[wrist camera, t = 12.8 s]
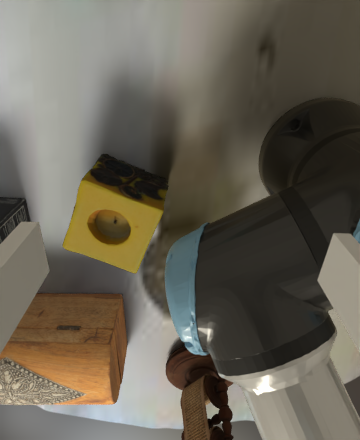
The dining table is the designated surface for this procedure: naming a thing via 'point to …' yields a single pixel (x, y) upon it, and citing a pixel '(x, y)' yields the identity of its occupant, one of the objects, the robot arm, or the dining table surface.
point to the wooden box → (66, 351)
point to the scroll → (200, 395)
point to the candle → (116, 213)
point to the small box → (11, 215)
